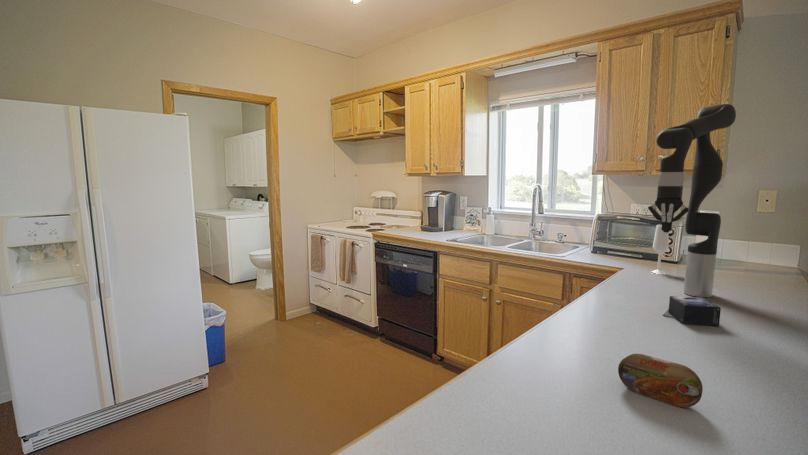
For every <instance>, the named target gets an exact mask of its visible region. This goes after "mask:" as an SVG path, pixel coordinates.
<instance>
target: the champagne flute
mask: <svg viewBox="0 0 808 455" xmlns="http://www.w3.org/2000/svg"><path fill="white" fill-rule="evenodd" d="M669 235H670V234H669V233H666V232H663V231H662V224H656V226H655V232H654V235H653V236H654V238H653V242H652V249H653V251H654V252H655V253H656V254H657V255H658V256H657V257H658V258H657V266H656V268H657V269H655V270H651V272H653V273H656V274H655V275H658V274H665V272H664V271H663V270H661V262H662V255H663V254H665V253H666V252H667V251H669V249H670V248H669V247H670V246H669V245H670V243H669V242H670V241H669V237H670V236H669ZM653 273H652V274H653Z"/></svg>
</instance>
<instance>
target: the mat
mask: <svg viewBox="0 0 808 455" xmlns="http://www.w3.org/2000/svg"><path fill="white" fill-rule="evenodd" d="M668 310H669V308H668V309H667V310H666V311H665V312H664V313H663V314H662V316H663V317H667V318H671V319H676V318H675V317H674V316H672V315H671V314H670V313H669V312H668Z"/></svg>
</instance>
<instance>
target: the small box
mask: <svg viewBox="0 0 808 455" xmlns="http://www.w3.org/2000/svg"><path fill="white" fill-rule="evenodd" d="M668 309H669V310H668ZM668 309H667V310H668V312H669V313H670V314H671V315H672V316H674V317H675V318H674V319H676V320H678V321H679V322H680V323H682V324H692V325H693V324H694V325H708V326H717V327H718V326H720V321H721V310H722V308H721V306H718V305H717V304H715V303H714V302H712V301H710V300H708V299H706V297H697V296H677V295H670V296H669V303H668Z"/></svg>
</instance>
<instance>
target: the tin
mask: <svg viewBox="0 0 808 455" xmlns="http://www.w3.org/2000/svg"><path fill="white" fill-rule="evenodd" d="M617 374H618V376H619V379H620V380H621V382H622V384H623V385H624V386H625V387H626V388H627V389H628V390H630V391H631V392H633V393H635V394H638V395H642V396H644V397H647V398H650V399H653V400H656V401H659V402H662V403H665V404H668V405H671V406H673V407H677V408H691V407H693V406H695V405H697V404H698V403H699V402H700V401H701V399H702V396H703V390H704V388H703V387H704V386H703V382H702V381H701V379H700V377H699V375H698V374H697V373H696V372H695V371H693V370H692V369H691V368H690V367H688V366H686V365H683V364H681V363H677V362H673V361H668V360H666V359H661V358H657V357H653V356H651V355H648V354H647V355H646V354H643V353H632V354H630V355H629V354H628V355H627V356H626V357H624V358H623V359H621V361H620V362H619V364H618V367H617Z"/></svg>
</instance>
